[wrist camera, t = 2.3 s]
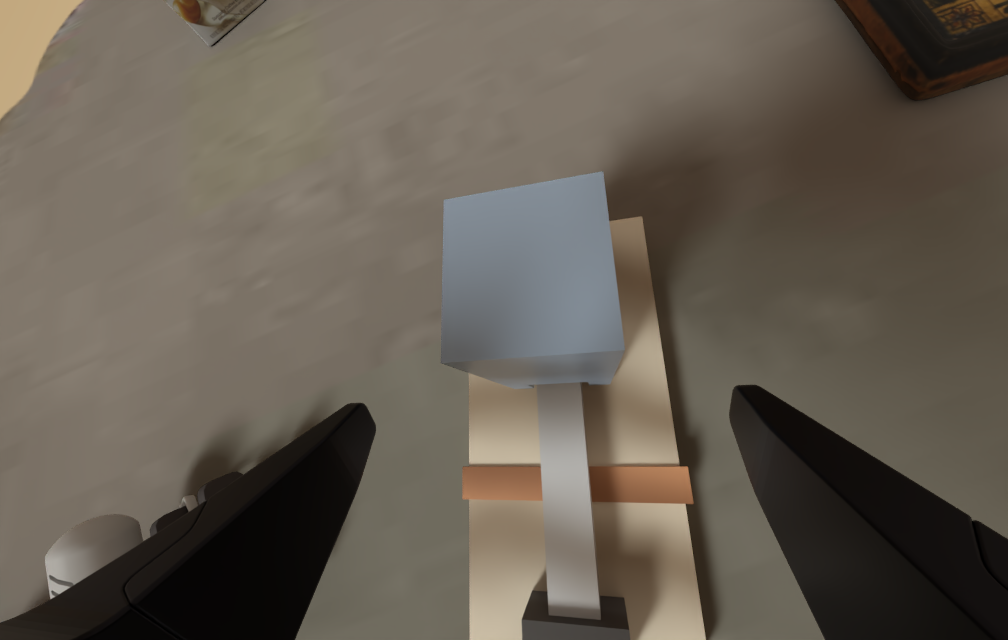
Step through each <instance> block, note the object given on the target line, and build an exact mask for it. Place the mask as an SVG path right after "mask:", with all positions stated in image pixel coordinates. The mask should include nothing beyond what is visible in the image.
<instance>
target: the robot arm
mask: <svg viewBox="0 0 1008 640" xmlns="http://www.w3.org/2000/svg"><path fill="white" fill-rule="evenodd" d="M729 418H730V423H731V427H732V429H733V432H734V435H735V438H736V441H737V444H738V447H739V450H740V453H741V455H742V458H743V461H744V464H745V467H746V470H747V473H748V476H749V478H750V481H751V484H752V487H753V489H754V492H755V494H756V496H757V499H758V501H759V503H760V505H761V507H762V509H763V512H764V514H765V516H766V518H767V520H768V522H769V524H770V526H771V528H772V530H773V532H774V534H775V537H776V539H777V541H778V543H779V545H780V547H781V549H782V551H783V553H784V555H785V557H786V559H787V562H788V564H789V566H790V568H791V570H792V572H793V574H794V576H795V578H796V580H797V582H798V584H799V587H800V589H801V591H802V593H803V595H804V597H805V599H806V601H807V603H808V605H809V607H810V610H811V612H812V614H813V616H814V618H815V620H816V622H817V624H818V626H819V628H820V630H821V632H822V635H823V637H824V639H825V640H1008V539H1007V538H1005V537H1003V536H1002V535H1000V534H999V533H997V532H995V531H994V530H992V529H990V528H989V527H987V526H986V525H984V524H982V523H981V522H979V521H976V520H973V521H972V519H971V517H970V516H969V515H967V514H966V513H964V512H963V511H961V510H959V509H958V508H956V507H954V506H953V505H951V504H950V503H948V502H946V501H945V500H943V499H941V498H940V497H938V496H937V495H935V494H933V493H932V492H930V491H929V490H927V489H925V488H924V487H922V486H920V485H919V484H917V483H916V482H914V481H912V480H911V479H909V478H907V477H906V476H904V475H903V474H901V473H899V472H898V471H896V470H894V469H893V468H891V467H890V466H888V465H886V464H885V463H883V462H881V461H880V460H878V459H877V458H875V457H873V456H872V455H870V454H868V453H867V452H865V451H864V450H862V449H860V448H859V447H857V446H856V445H854V444H852V443H851V442H849V441H847V440H846V439H844V438H843V437H841V436H839V435H838V434H836V433H834V432H833V431H831V430H830V429H828V428H826V427H825V426H823V425H821V424H820V423H818V422H817V421H815V420H813V419H812V418H810V417H808V416H807V415H805V414H804V413H802V412H800V411H799V410H797V409H795V408H794V407H792V406H791V405H789V404H787V403H786V402H784V401H783V400H781V399H779V398H778V397H776V396H774V395H773V394H771V393H770V392H768V391H766V390H765V389H763V388H761V387H760V386H757V385H738V386H735V387H734V389H733V392H732V398H731V405H730V412H729ZM375 433H376V425H375V422H374V420H373V418H372V416H371V414H370V412H369V410H368V408H367V407H366V405H365V404H363V403H350V404H347V405H345V406H344V407H342V408H341V409H339V410H338V411H337V412H335V413H334V414H332V415H331V416H329V417H328V418H326V419H325V420H323V421H322V422H320V423H319V424H317V425H316V426H314V427H313V428H312V429H310V430H309V431H307V432H306V433H304V434H303V435H301V436H300V437H298V438H297V439H295V440H294V441H292V442H291V443H289V444H288V445H287V446H285V447H284V448H282V449H281V450H279V451H278V452H276V453H275V454H273V455H272V456H270V457H269V458H267V459H266V460H264V461H263V462H262V463H260V464H259V465H257V466H256V467H254V468H253V469H251V470H250V471H248V472H247V473H245V474H244V475H242V476H241V477H239V478H238V479H237V480H235V481H234V482H232V483H231V484H229V485H228V486H226V487H225V488H223V489H222V490H220V491H219V492H217V493H216V494H214V495H213V496H212V497H210V498H209V500H206V501H204V502H203V503H201V504H200V505H198V506H197V507H195V508H194V509H192V510H191V511H189V512H188V513H186V514H185V515H183V516H182V517H180V518H179V519H177V520H176V521H174V522H173V523H171V524H170V525H168V526H167V527H165V528H164V529H162V530H161V531H159V532H158V533H156V534H154V535H153V536H151V537H150V538H148V539H147V540H145V541H143V542H142V543H140V544H139V545H137V546H136V547H134V548H132V549H131V550H129V551H128V552H126V553H124V554H123V555H121V556H120V557H118V558H116V559H115V560H113V561H112V562H110V563H108V564H107V565H105V566H104V567H102V568H100V569H99V570H97V571H95V572H94V573H92V574H91V575H89V576H87V577H86V578H84V579H83V580H81V581H79V582H78V583H76V584H75V585H73V586H71V587H70V588H68V589H67V590H65V591H63V592H62V593H60V594H58V595H57V596H55V597H54V598H52V599H50V600H48V601H47V602H45V603H43V604H41V605H40V606H38V607H36V608H34V609H32V610H30V611H28V612H26V613H23V614H21V615H19V616H16V617H14V618H12V619H9V620H7V621H4V622H1V623H0V640H295V638H296V636H297V633H298V631H299V629H300V626H301V624H302V621H303V619H304V617H305V614H306V612H307V609H308V607H309V605H310V602H311V600H312V597H313V595H314V593H315V590H316V588H317V585H318V583H319V581H320V578H321V576H322V574H323V571H324V569H325V566H326V564H327V562H328V559H329V557H330V554H331V552H332V550H333V547H334V545H335V542H336V540H337V538H338V535H339V533H340V530H341V528H342V526H343V523H344V521H345V519H346V516H347V514H348V511H349V509H350V507H351V504H352V502H353V499H354V497H355V495H356V492H357V489H358V487H359V484H360V481H361V478H362V475H363V472H364V469H365V465H366V462H367V459H368V456H369V452H370V449H371V446H372V443H373V440H374V436H375Z"/></svg>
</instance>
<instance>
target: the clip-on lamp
mask: <svg viewBox="0 0 1008 640" xmlns="http://www.w3.org/2000/svg"><path fill="white" fill-rule="evenodd" d="M242 475H243V474H241V473H239V472H232V473H229V474H227V475H224V476H222V477H220V478H217V479H215V480H212V481H210V482H208V483H207V484H205V485H204V486H202V487H201V488H200V489H199V492H198V494H197V496H198V502H199V505H200V504H201V503H203V502H204V501H206V500H209V498H210V497H212V496H213V495H214V494H216V493H217V492H219V491H220V490H222V489H223V488H225V487H226V486H228V485H229V484H231V483H232V482H234V481H235V480H237V479H238V478H239V477H241V476H242ZM197 506H198V503H197V501H196V498H195V496H194V495H187V496H184V497H183V499H182V502H181V504H180V507H179V509H177V510H174V511H172V512H170V513H168V514H166V515H164V516H162V517H161V518H159V519H158V520H157V521H155V522H154V523H153V524H152V526H151V528H150V535H151V536H153V535H154V534H156V533H158V532H159V531H161V530H162V529H164V528H165V527H167V526H168V525H170V524H171V523H173V522H174V521H176V520H177V519H179V518H180V517H182V516H183V515H185V514H186V513H188V512H189V511H191V510H192V509H194V508H195V507H197ZM142 542H143V538H142V534H141V529H140V525H139V522H138V521H137V520H136V519H134V518H132V517H129V516H125V515H117V514H113V515H104V516H99V517H96V518H93V519H90V520H87V521H85V522H83V523H81V524H79V525H77V526H75V527H74V528H72V529H71V530H69V531H68V532H66V533H65V534H64V535H63V536H61V537H60V538H59V539H58V540H57V541H56V542H55V543H54V545H53V546H52V547H51V548H50V550H49V551H48V553H47V555H46V556H45V565H46V572H47V579H48V586H49V593H50V599H52V598H54V597H55V596H57V595H58V594H60V593H62V592H63V591H65V590H67V589H68V588H70V587H71V586H73V585H75V584H76V583H78V582H79V581H81V580H83V579H84V578H86V577H87V576H89V575H91V574H92V573H94V572H95V571H97V570H99V569H100V568H102V567H104V566H105V565H107V564H108V563H110V562H112V561H113V560H115V559H116V558H118V557H120V556H121V555H123V554H124V553H126V552H128V551H129V550H131V549H132V548H134V547H136V546H137V545H139V544H140V543H142Z"/></svg>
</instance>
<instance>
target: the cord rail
mask: <svg viewBox="0 0 1008 640" xmlns="http://www.w3.org/2000/svg"><path fill="white" fill-rule="evenodd" d="M609 223H610V232H611V240H612V248H613V256H614V264H615V272H616V281H617V289H618V297H619V305H620V313H621V321H622V330H623V338H624V346H625V351H624V354H623V356H622V358H621V361H620V363H619V365H618V367H617V370H616V372H615V374H614V377H613V379H612V381H611V384H608V385H589V383H588V382H577V383H558V384H539V385H534V388H528V389H513V388H510V387H507V386H505V385H502V384H499V383H496V382H493V381H490V380H488V379H485V378H482V377H479V376H476V375H473V374H470V373H469V467H463V499H469V548H470V640H706V637H705V630H704V624H703V617H702V610H701V604H700V597H699V590H698V584H697V577H696V571H695V564H694V557H693V551H692V544H691V537H690V531H689V524H688V518H687V511H686V504H694V503H693V497H692V490H691V484H690V477H689V471H688V467H687V466H680V465H679V458H678V451H677V445H676V438H675V432H674V425H673V418H672V412H671V405H670V398H669V392H668V385H667V379H666V372H665V365H664V359H663V352H662V345H661V339H660V332H659V326H658V319H657V312H656V306H655V299H654V293H653V286H652V279H651V273H650V266H649V259H648V253H647V246H646V240H645V233H644V226H643V220H642V216H640V217H634V218H627V219H620V220H614V221H609Z"/></svg>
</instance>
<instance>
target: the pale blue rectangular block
mask: <svg viewBox="0 0 1008 640" xmlns="http://www.w3.org/2000/svg"><path fill="white" fill-rule="evenodd" d="M624 351H625V346H624V338H623V330H622V321H621V313H620V305H619V297H618V289H617V281H616V272H615V264H614V256H613V248H612V240H611V232H610V223H609V215H608V207H607V199H606V191H605V183H604V174H603V171H602V172H596V173H591V174H585V175H579V176H574V177H568V178H563V179H557V180H552V181H546V182H540V183H535V184H529V185H524V186H518V187H513V188H507V189H501V190H496V191H490V192H485V193H479V194H474V195H468V196H462V197H457V198H451V199H446V200H444V220H443V274H442V329H441V363H442V364H445V365H448V366H451V367H453V368H456V369H459V370H462V371H465V372H468V373H470V374H473V375H476V376H479V377H482V378H485V379H488V380H490V381H493V382H496V383H499V384H502V385H505V386H507V387H510V388H513V389H528V388H534V385H539V384H558V383H577V382H588V383H589V385H608V384H611V381H612V379H613V377H614V374H615V372H616V370H617V367H618V365H619V363H620V361H621V358H622V356H623V354H624Z"/></svg>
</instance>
